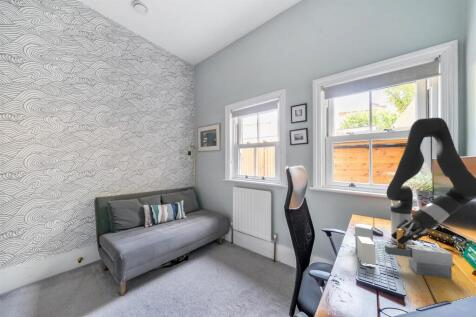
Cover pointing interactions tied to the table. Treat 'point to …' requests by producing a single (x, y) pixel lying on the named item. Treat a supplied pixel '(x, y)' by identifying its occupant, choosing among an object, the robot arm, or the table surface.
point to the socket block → (366, 250)
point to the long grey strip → (399, 246)
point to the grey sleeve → (431, 261)
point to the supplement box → (363, 232)
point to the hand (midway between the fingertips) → (396, 239)
